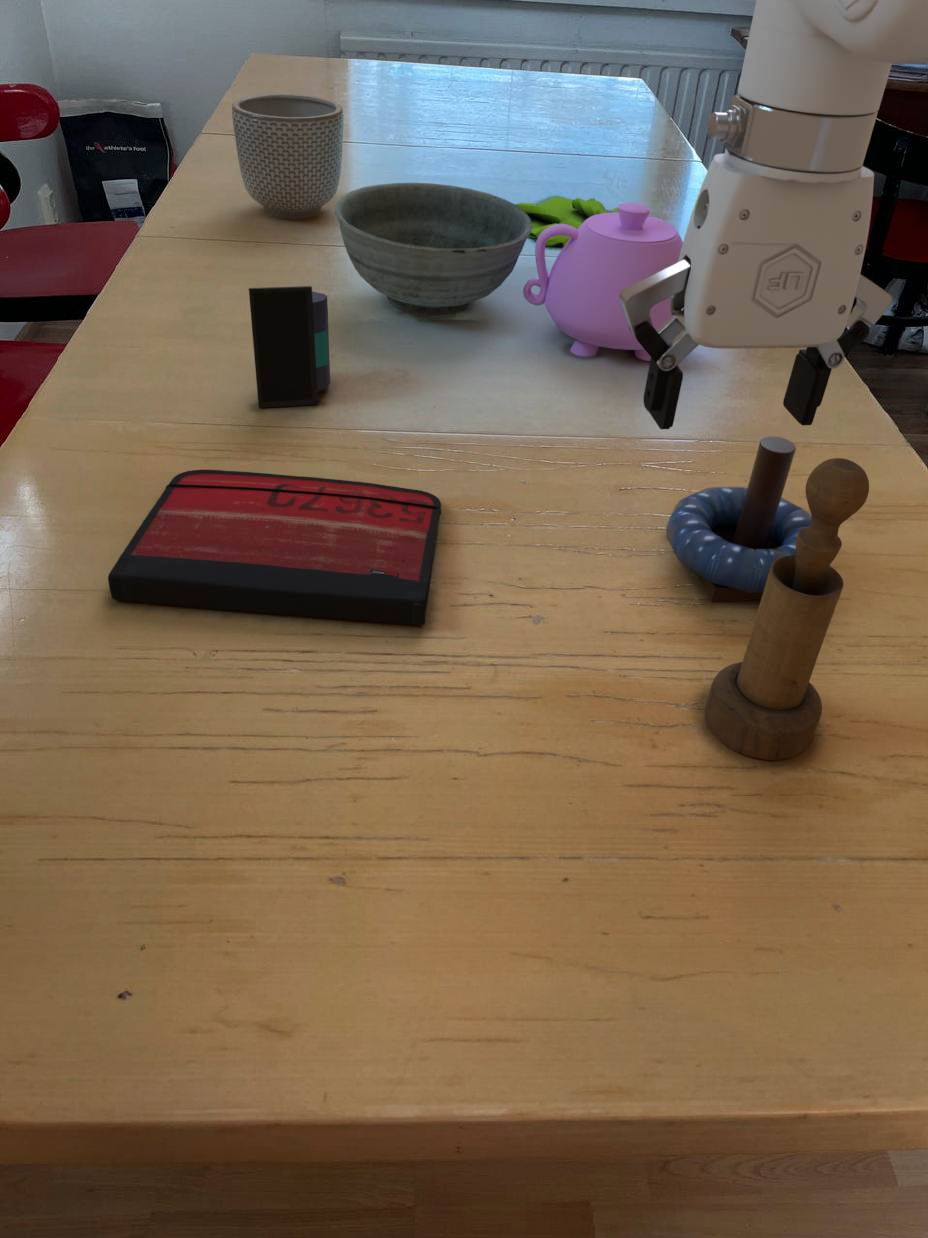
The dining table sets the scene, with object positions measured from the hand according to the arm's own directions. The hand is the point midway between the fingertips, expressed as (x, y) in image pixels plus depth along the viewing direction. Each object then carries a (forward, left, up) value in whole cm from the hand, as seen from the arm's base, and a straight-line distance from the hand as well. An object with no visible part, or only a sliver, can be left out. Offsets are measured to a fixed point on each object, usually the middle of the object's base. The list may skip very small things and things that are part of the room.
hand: (728, 417), depth 66 cm
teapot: (+41, -7, -12) cm, 43 cm away
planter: (+84, +26, -12) cm, 89 cm away
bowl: (+52, +12, -12) cm, 55 cm away
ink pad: (+5, +29, -12) cm, 32 cm away
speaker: (+31, +28, -12) cm, 44 cm away
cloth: (+81, -12, -12) cm, 83 cm away
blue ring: (0, -4, -10) cm, 10 cm away
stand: (0, -4, -12) cm, 13 cm away
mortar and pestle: (-16, +1, -12) cm, 20 cm away
